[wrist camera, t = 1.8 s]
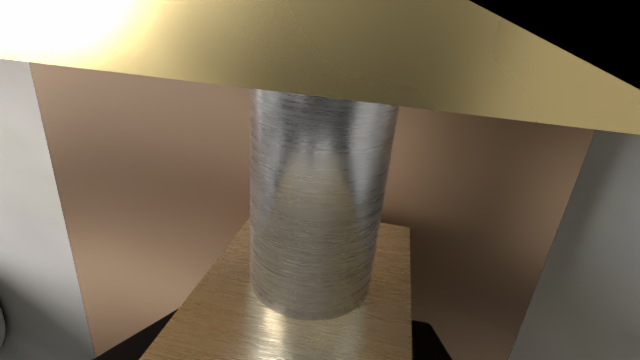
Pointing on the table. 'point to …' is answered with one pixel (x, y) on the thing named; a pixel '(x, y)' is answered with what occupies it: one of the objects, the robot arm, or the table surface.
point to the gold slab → (337, 53)
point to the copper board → (234, 188)
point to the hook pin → (306, 245)
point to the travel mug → (2, 327)
